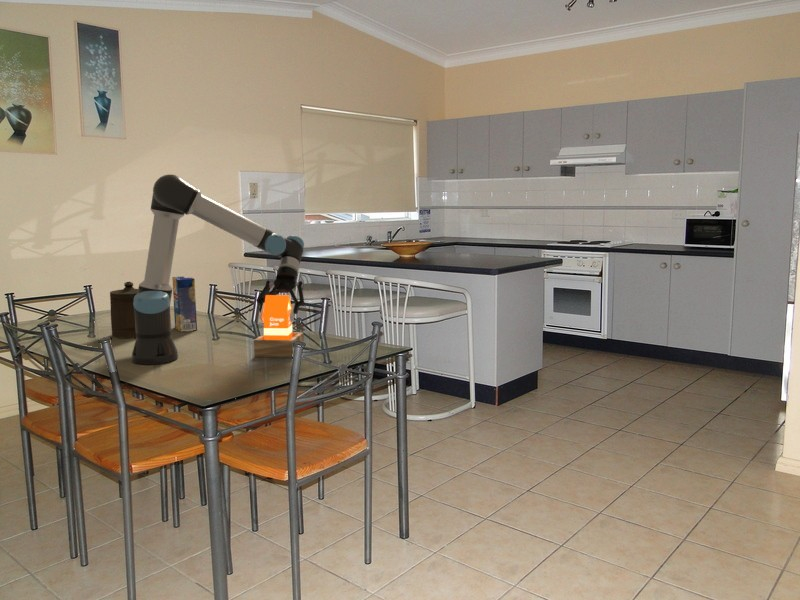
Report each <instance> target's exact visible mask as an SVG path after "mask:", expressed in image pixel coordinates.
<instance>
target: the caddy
mask: <svg viewBox="0 0 800 600" xmlns="http://www.w3.org/2000/svg"><path fill="white" fill-rule="evenodd" d="M304 337H305V335H304V331H303V332H299V331H292V338H291V339H290V340H268V339H264V333H262V334H261V335H260V336H257V338H255V339H253V353H254V354H253V356H256V357H259V358H285V357H291V358H292V354H293V346H292V344H293V342H294V341H304V342H305V338H304ZM256 357H255V358H256ZM292 359H293V358H292Z"/></svg>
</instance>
